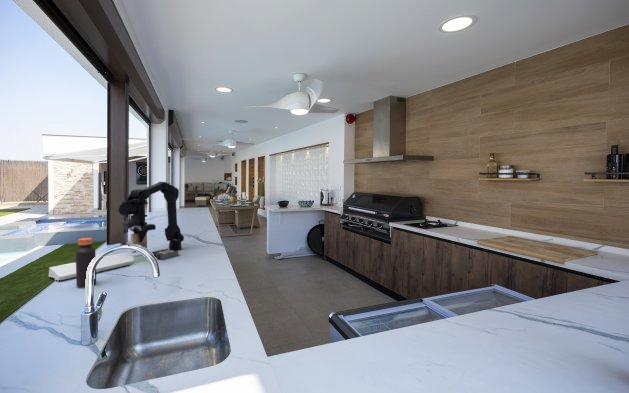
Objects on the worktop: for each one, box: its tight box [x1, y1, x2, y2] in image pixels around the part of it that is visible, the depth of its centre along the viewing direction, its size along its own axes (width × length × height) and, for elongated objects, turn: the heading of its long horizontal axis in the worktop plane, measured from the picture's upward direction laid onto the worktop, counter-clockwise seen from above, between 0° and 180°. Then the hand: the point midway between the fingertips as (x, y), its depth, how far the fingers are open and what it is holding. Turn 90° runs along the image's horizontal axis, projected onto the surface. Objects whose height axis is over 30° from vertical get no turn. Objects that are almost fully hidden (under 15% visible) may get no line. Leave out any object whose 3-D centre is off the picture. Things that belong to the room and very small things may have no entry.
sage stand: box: [131, 253, 149, 265], centre depth 171 cm, size 11×8×4 cm
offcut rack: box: [151, 248, 181, 261], centre depth 182 cm, size 12×12×4 cm
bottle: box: [75, 237, 97, 288], centre depth 134 cm, size 7×7×20 cm
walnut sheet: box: [130, 232, 148, 254], centre depth 171 cm, size 8×2×10 cm, turn 154°
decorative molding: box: [48, 252, 136, 282], centre depth 155 cm, size 34×5×10 cm
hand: (139, 242), depth 171 cm, fingers closed on walnut sheet, 2 cm apart
